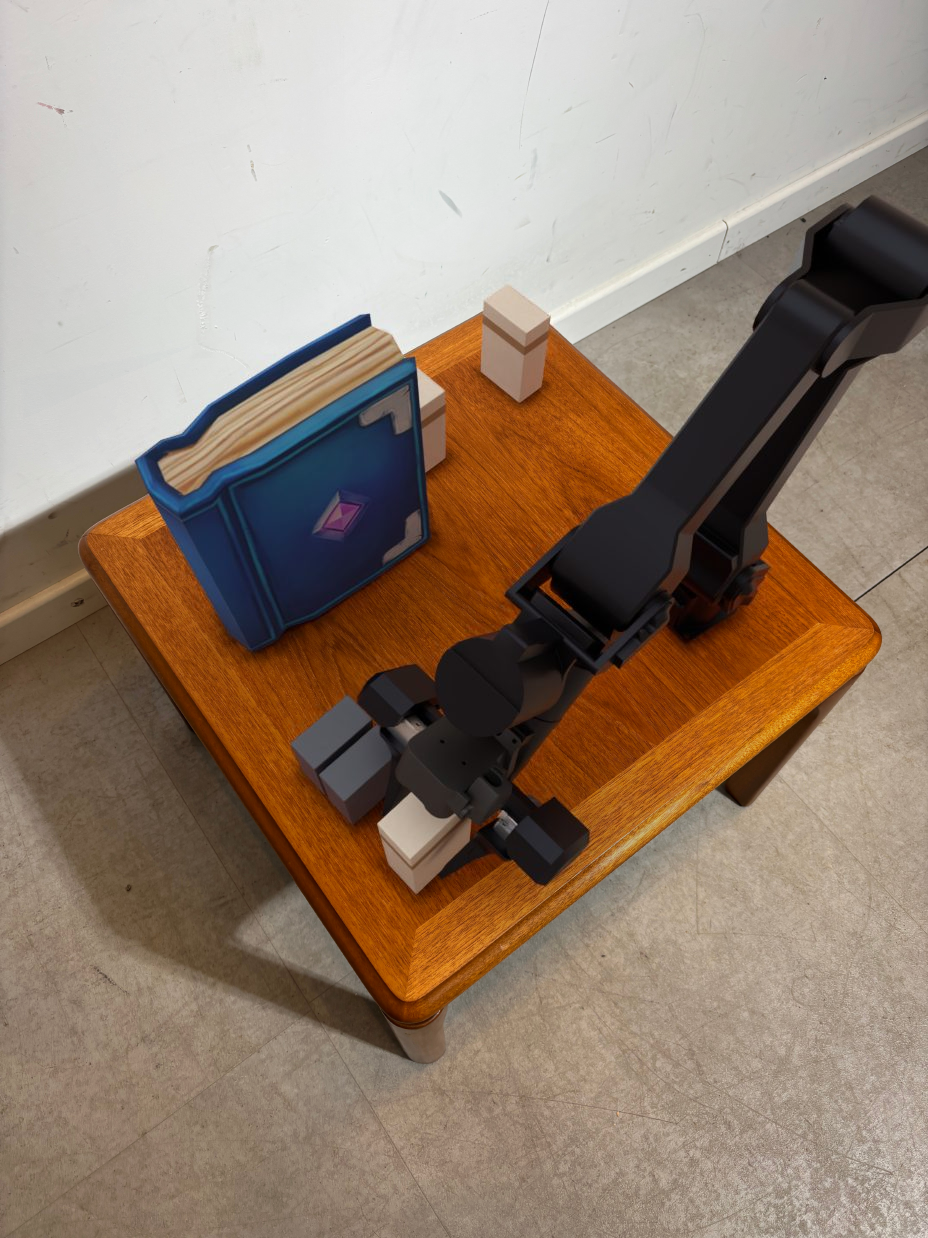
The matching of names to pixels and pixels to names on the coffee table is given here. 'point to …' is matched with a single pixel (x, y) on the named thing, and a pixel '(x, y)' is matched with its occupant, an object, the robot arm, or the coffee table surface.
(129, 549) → the coffee table surface
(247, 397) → the book
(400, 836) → the white lidded box
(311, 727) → the grey blocks
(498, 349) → the cream lidded boxes
